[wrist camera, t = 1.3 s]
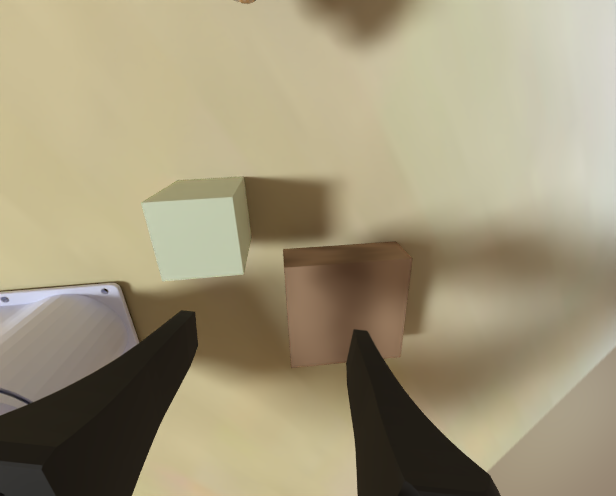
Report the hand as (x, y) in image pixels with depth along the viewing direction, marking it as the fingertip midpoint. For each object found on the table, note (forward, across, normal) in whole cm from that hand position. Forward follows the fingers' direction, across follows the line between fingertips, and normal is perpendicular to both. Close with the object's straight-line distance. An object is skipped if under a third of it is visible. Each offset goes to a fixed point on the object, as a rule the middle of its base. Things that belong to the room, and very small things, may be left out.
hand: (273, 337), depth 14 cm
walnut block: (+11, -4, +5) cm, 13 cm away
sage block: (+10, +6, -2) cm, 12 cm away
